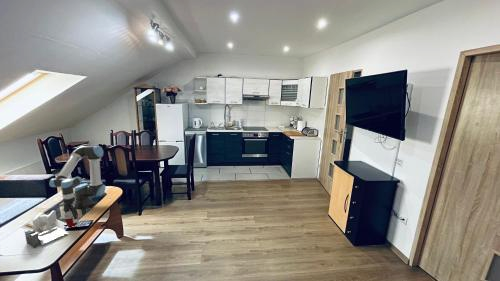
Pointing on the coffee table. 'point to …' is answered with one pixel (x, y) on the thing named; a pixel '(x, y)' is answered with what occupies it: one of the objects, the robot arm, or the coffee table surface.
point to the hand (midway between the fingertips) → (71, 220)
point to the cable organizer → (44, 220)
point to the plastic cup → (69, 219)
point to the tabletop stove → (43, 236)
